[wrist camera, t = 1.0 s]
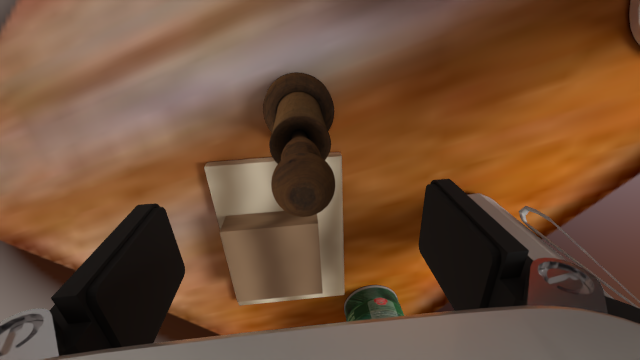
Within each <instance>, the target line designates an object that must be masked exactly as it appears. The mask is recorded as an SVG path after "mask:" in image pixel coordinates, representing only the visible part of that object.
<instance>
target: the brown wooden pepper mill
mask: <svg viewBox="0 0 640 360" xmlns="http://www.w3.org/2000/svg"><path fill="white" fill-rule="evenodd" d="M263 114H264V119H265V122H266V124H267V126H268V128H269V129H270V131H271V132H272V134H271V138H270V143H269V146H270V152H271V155H272V157H273V159H274V160H275V162H276V163H277V164H278V165H277V166H276V168H275V170H274V172H273V175H272V180H271V188H272V193H273V196H274V198H275V200H276V202H277V203H278V205H279V206H280V207H281V208H282V209H283V210H284V211H286V212H287V213H289V214H291V215H294V216H299V217H308V216H313V215H315V214H317V213H319V212H321V211H322V210H324V209H325V208H326V207H327V206H328V204H329V203H330V202H331V200H332V198H333V195H334V192H335V177H334V173H333V171H332V169H331V167H330V166H329V164H328V163H327V162H326V161H325V160H326V158H327V157H328V155H329V152H330V148H331V140H330V136H329V133H328V131H329V129H330V127H331V125H332V122H333V118H334V105H333V101H332V98H331V96H330V94H329V92H328V90H327V88H326V87H325V86H324V85H323V84H322V83H321V82H320V81H319V80H318V79H316V78H315V77H313V76H311V75H308V74H304V73H290V74H286V75H283V76H281V77H280V78H278V79H277V80H276V81H274V82H273V83H272V85H271V86H270V87H269V89H268V91H267V94H266V96H265V99H264V104H263Z"/></svg>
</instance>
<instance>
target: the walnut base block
mask: <svg viewBox="0 0 640 360" xmlns="http://www.w3.org/2000/svg"><path fill="white" fill-rule="evenodd" d="M220 236H221V240H222V244H223V248H224V252H225V256H226V260H227V264H228V267H229V271H230V275H231V279H232V283H233V287H234V291H235V295H236V299H237V302H242V301H252V300H262V299H272V298H282V297H292V296H302V295H312V294H322V293H323V289H322V274H321V259H320V244H319V229H318V219H317V214H315V215H313V216H308V217H299V216H294V215H291V214H289V213H287V212H286V211H276V212H264V213H253V214H241V215H230V216H226V217H225V219H224V222H223V225H222V227H221V230H220Z"/></svg>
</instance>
